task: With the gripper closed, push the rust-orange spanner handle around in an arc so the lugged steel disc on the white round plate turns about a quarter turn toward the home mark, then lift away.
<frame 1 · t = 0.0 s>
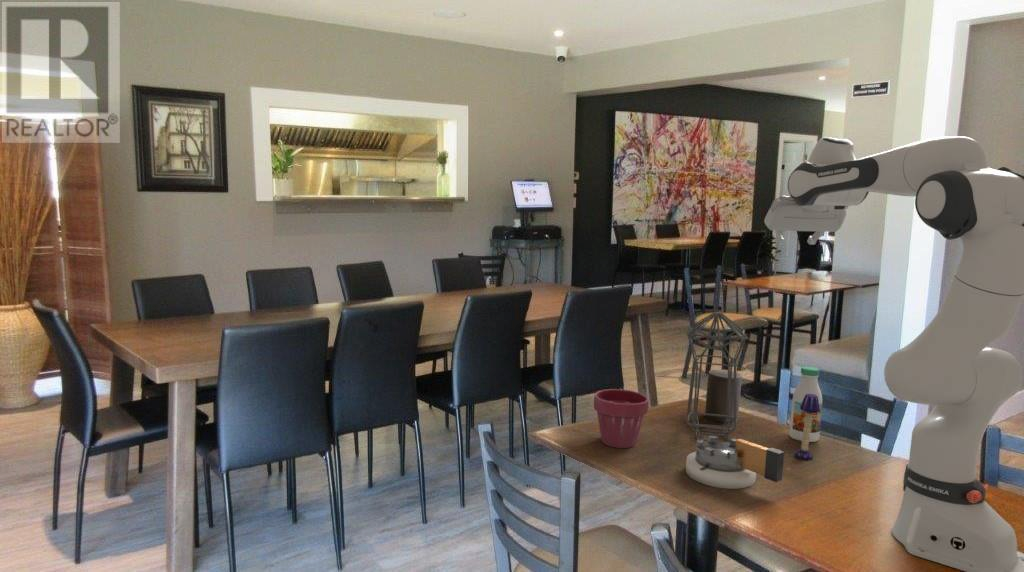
hand: (794, 243, 184), 54 cm above the table, tool tilted 30°, fingers open, 8 cm apart
pillar candle: (721, 418, 210), on the table
milk bottle: (803, 438, 194), on the table
lugged steel disc: (738, 453, 162), point 7 cm above the table, hinge at 0.0°
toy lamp: (804, 458, 179), on the table
white round plate: (720, 474, 166), on the table
geometric lantern: (709, 436, 193), on the table
plant pot: (618, 442, 186), on the table
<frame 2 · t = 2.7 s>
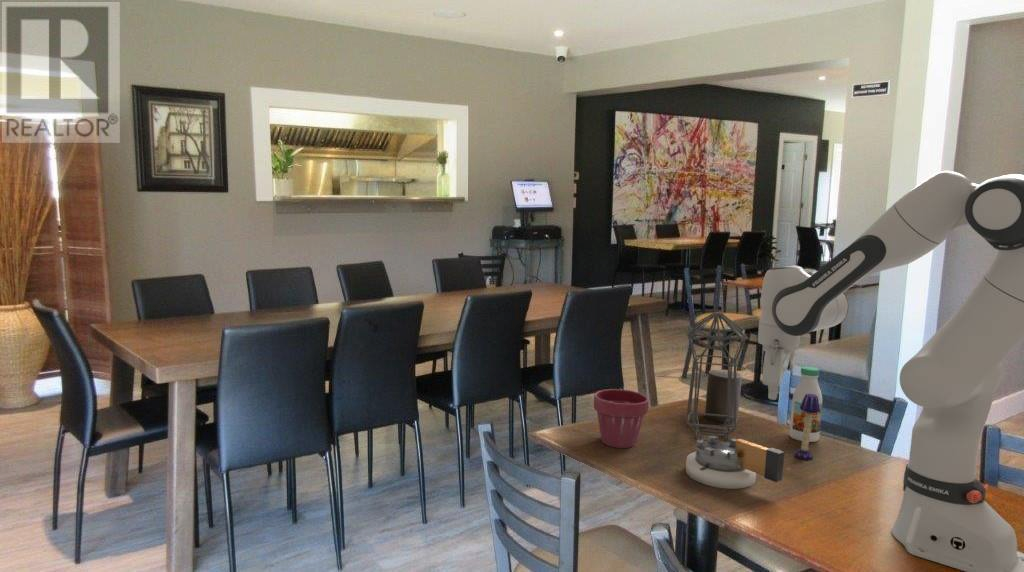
hand: (773, 395, 159), 21 cm above the table, tool pointing down, fingers open, 4 cm apart
nothing on the table moved.
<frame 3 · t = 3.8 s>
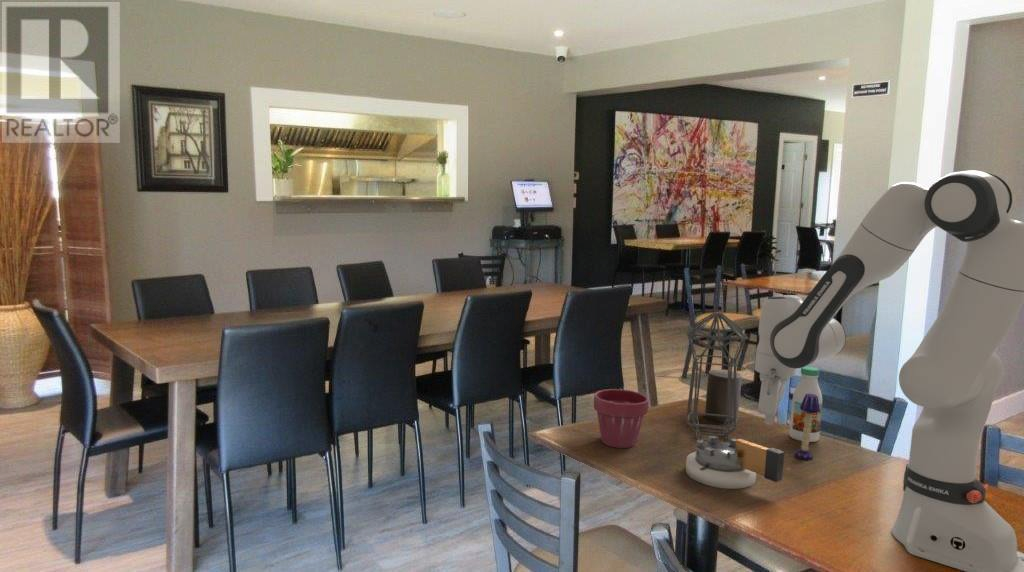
hand: (769, 422, 160), 15 cm above the table, tool pointing down, fingers closed
nothing on the table moved.
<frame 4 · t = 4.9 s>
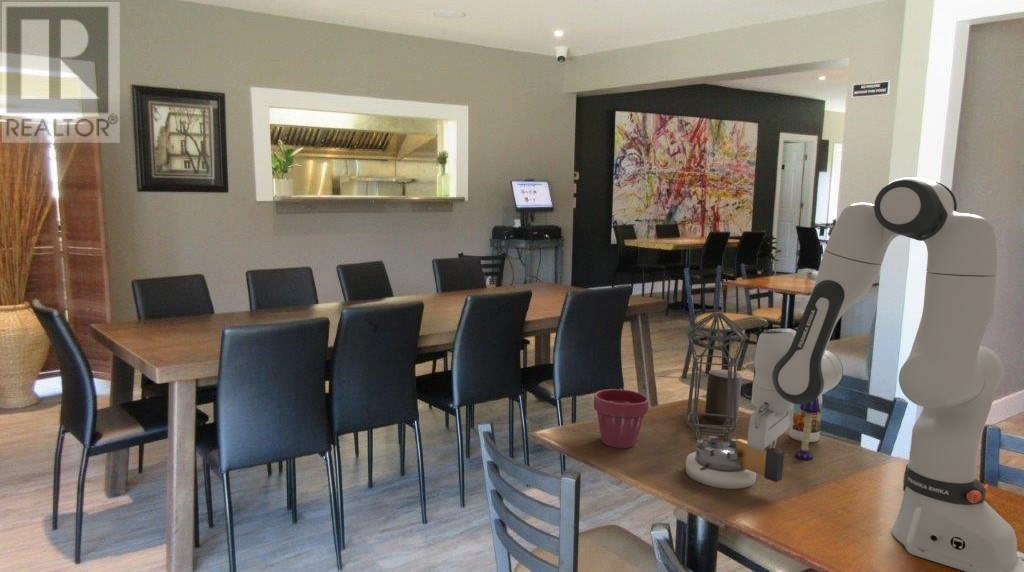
hand: (767, 457, 159), 7 cm above the table, tool pointing down, fingers closed
lugged steel disc: (738, 453, 162), point 7 cm above the table, hinge at 0.0°, touching gripper
everything else where it was.
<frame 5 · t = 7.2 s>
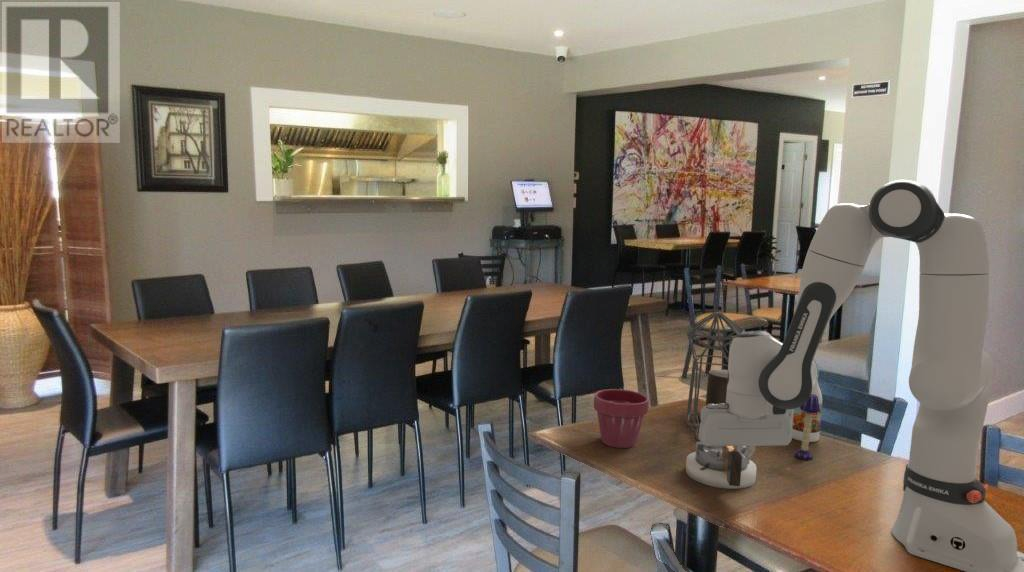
hand: (743, 463, 155), 7 cm above the table, tool pointing down, fingers closed
lugged steel disc: (726, 454, 161), point 7 cm above the table, hinge at 44.5°, touching gripper
everything else where it was.
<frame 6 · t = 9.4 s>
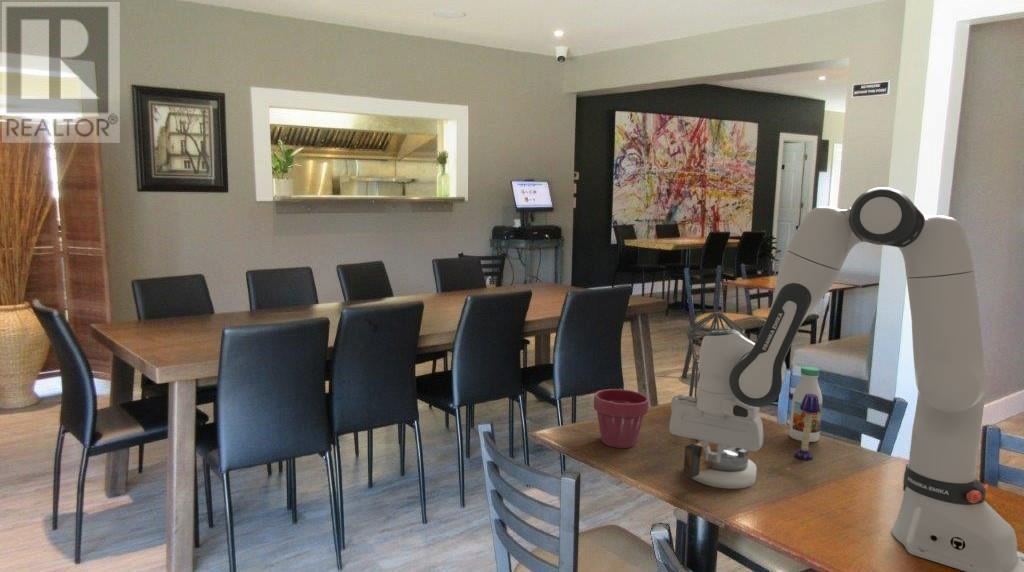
hand: (713, 460, 156), 7 cm above the table, tool pointing down, fingers closed
lugged steel disc: (712, 452, 162), point 7 cm above the table, hinge at 83.9°
everything else where it was.
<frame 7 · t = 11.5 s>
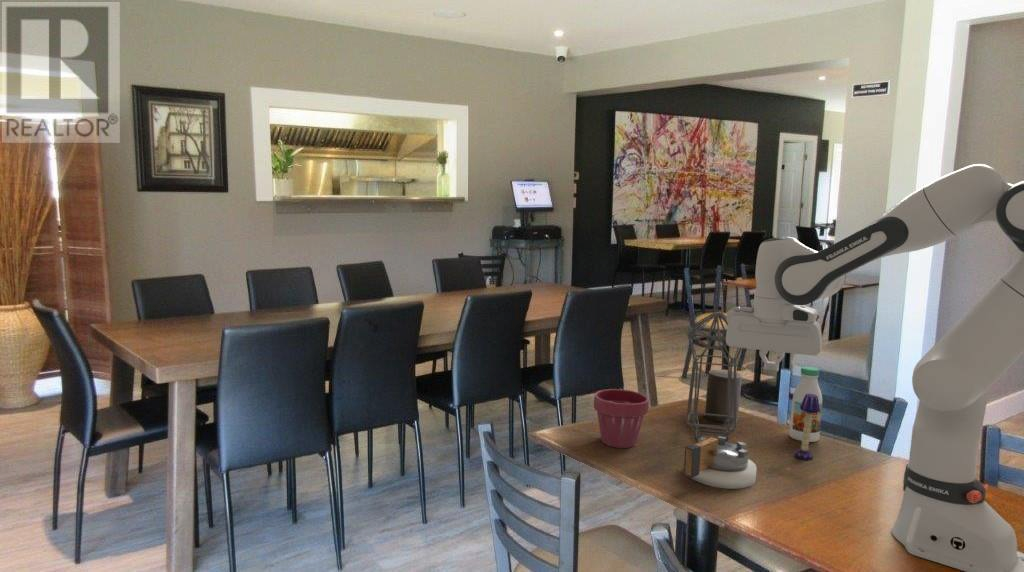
hand: (771, 370, 157), 27 cm above the table, tool pointing down, fingers closed
nothing on the table moved.
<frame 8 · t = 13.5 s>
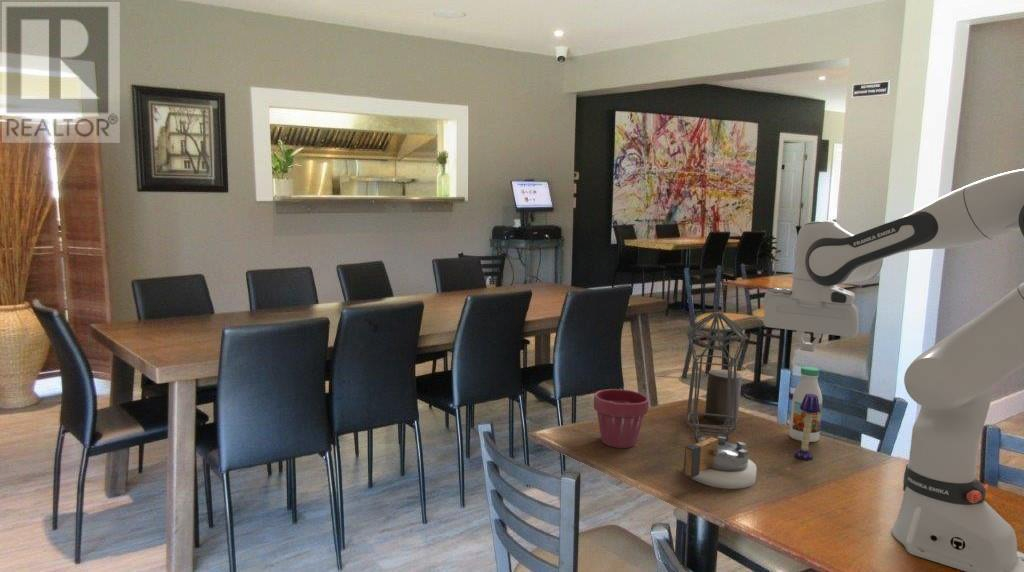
hand: (807, 350, 161), 31 cm above the table, tool pointing down, fingers closed
nothing on the table moved.
at the end: lugged steel disc at +84° (first picture: +0°) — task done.
